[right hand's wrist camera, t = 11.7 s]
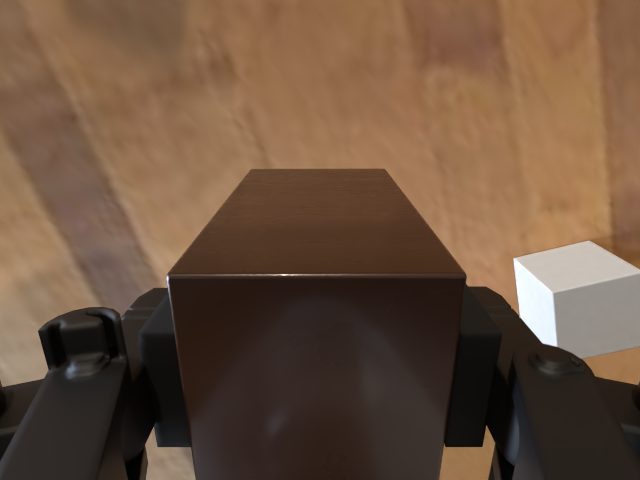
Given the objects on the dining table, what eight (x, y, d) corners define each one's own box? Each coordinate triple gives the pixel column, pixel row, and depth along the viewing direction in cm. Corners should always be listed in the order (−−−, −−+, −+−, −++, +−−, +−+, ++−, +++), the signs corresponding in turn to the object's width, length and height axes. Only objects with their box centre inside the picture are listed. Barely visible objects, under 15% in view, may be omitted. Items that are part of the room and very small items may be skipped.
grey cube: (520, 320, 30) (557, 364, 25) (512, 257, 28) (551, 292, 23) (592, 304, 29) (644, 346, 24) (589, 239, 27) (644, 271, 23)
